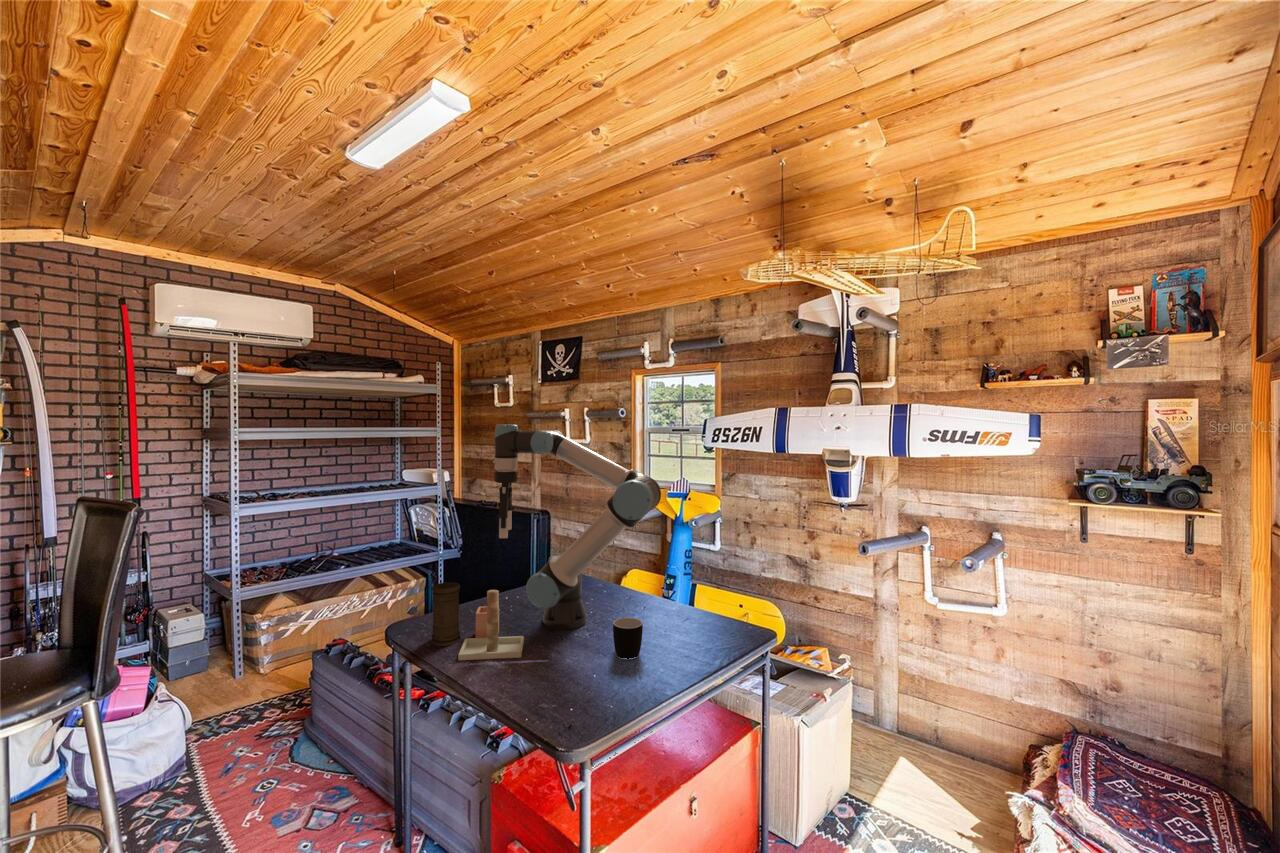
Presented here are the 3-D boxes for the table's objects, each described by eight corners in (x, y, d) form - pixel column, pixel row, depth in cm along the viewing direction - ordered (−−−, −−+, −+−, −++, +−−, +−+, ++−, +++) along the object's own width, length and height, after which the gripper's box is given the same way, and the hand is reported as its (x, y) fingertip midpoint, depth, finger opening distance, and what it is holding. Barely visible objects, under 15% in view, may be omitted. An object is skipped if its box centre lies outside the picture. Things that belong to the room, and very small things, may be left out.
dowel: (498, 647, 171) (499, 589, 171) (497, 652, 168) (498, 593, 168) (487, 648, 171) (487, 589, 171) (485, 652, 168) (486, 593, 167)
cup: (498, 632, 185) (499, 605, 184) (496, 640, 178) (496, 612, 178) (478, 633, 184) (478, 606, 184) (475, 641, 177) (475, 613, 177)
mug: (648, 657, 167) (648, 624, 167) (623, 665, 162) (623, 630, 162) (626, 644, 177) (626, 612, 177) (602, 650, 172) (602, 618, 171)
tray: (523, 642, 177) (523, 636, 177) (521, 659, 165) (521, 651, 165) (465, 645, 174) (465, 638, 174) (458, 662, 162) (458, 654, 162)
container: (451, 648, 172) (451, 590, 171) (425, 646, 173) (425, 588, 173) (466, 637, 180) (466, 582, 180) (441, 635, 182) (441, 580, 182)
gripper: (498, 467, 198) (498, 526, 198) (489, 474, 173) (489, 542, 173) (520, 467, 199) (519, 526, 199) (514, 474, 174) (513, 541, 174)
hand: (505, 533), depth 186 cm, fingers open, 13 cm apart
